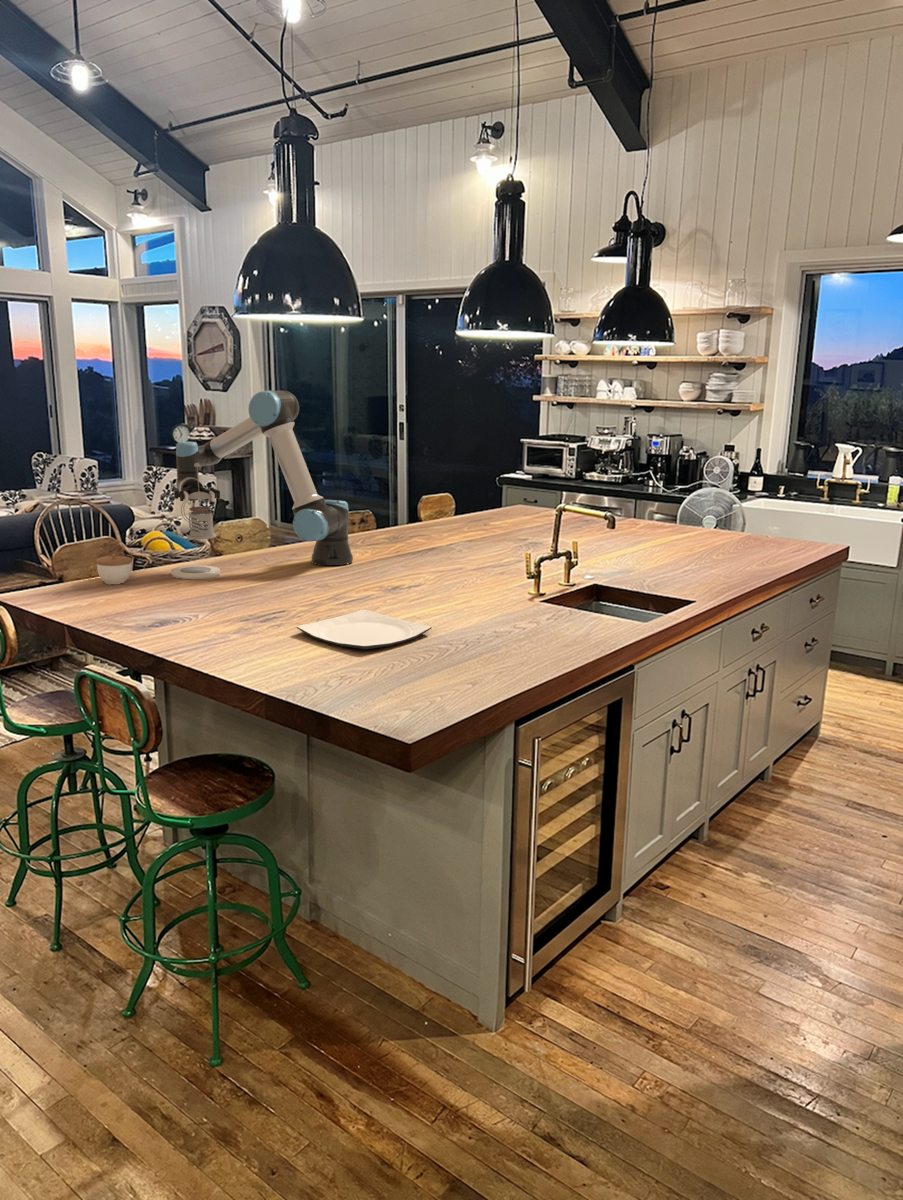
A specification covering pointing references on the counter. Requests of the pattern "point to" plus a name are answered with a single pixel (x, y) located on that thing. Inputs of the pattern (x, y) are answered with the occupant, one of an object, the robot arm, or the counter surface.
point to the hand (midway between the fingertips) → (200, 497)
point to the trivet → (195, 572)
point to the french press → (200, 516)
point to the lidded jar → (114, 568)
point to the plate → (364, 630)
